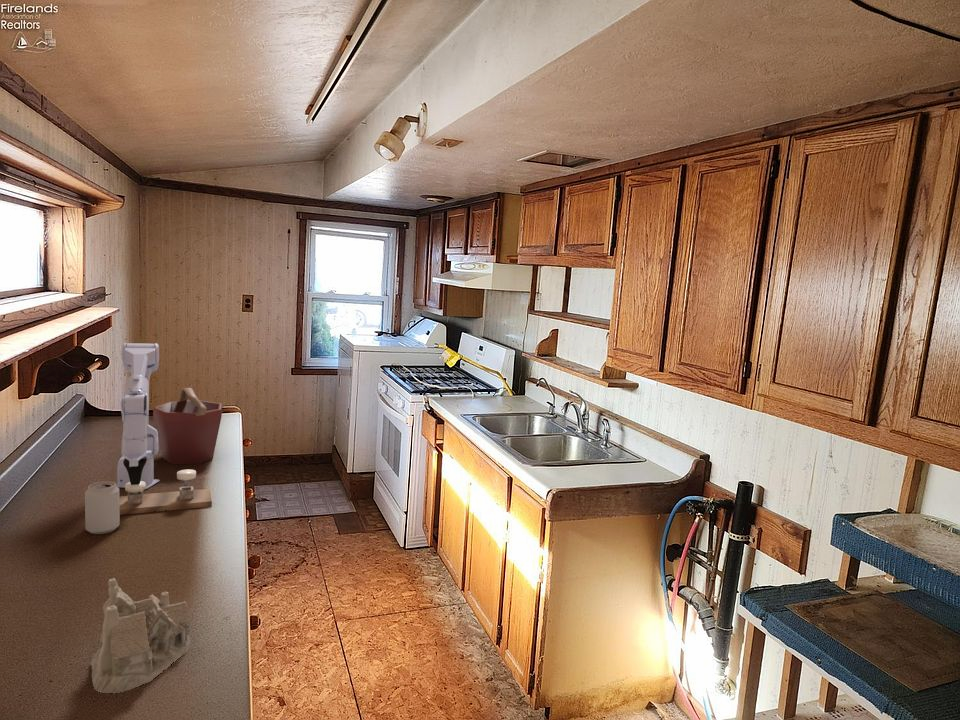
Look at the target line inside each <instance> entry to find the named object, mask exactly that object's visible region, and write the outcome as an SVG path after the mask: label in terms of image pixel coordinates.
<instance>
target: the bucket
mask: <svg viewBox="0 0 960 720" xmlns="http://www.w3.org/2000/svg"><path fill="white" fill-rule="evenodd" d="M222 415H223V403H221V402H214V401H208V400H202V399H201V400H200V399H199V398H198V396H197V395H196V394H195V392H194V390H193V388H192V387H182V388H181V390H180V394H179V400H178V401H167V402H165V403H162V404H158V405H156V406H155V405H154V406H153V407H152V418H153V421H154V426H155V429H156V430H157V432H158V440H159V449H160V453H161V456H162V459H163V460H165V461H166V462H168V463H170V464H173V465H174V464H177V465H178V464H179V465H180V464H181V465H182V464H183V465H185V464H186V465H187V464H188V465H195V464H198V463H199V464H200V463H203V462H207V461H211V460H213V458H214V455H215V450H216V445H217V441H218V436H219V430H220V425H221V420H222Z"/></svg>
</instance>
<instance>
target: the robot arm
mask: <svg viewBox="0 0 960 720" xmlns="http://www.w3.org/2000/svg"><path fill="white" fill-rule="evenodd" d="M159 360H160V346H159V344H158V343H157V342H155V343H140V342H139V343H137V342H136V343H134V342H133V343H131V342H124V343H123V344H122V346H121V361H122V365H123V368H124V371H126V372H129V373H130V376H128V377H127V379H126V380H125V384H124V385H125V387H124V395H123V396H121V399H120V412H121V417H122V418H121V421H122V423H123V425H122V431H123V432H122V438H121V445H120V446H121V447H120V448H121V449H120V451H121V457H120V458H119V460H118V463H117V467H116V471H117V473H116V474H117V476H116V477H117V478H116V480H117V482H116V486H117V487H118V488H119V489H120V488H122V489H125V484H126V483H128V482H130V483H131V485H138V484H140V481H144V482H145V483H146V489H145V490H147V489H149V488H151V487H153V486H154V485H156V484H157V483H159V482H160V479H157V478H156V479H155V478H154V477H155V476H154V472H155V471H154V469H155V465H154V461H155V460H154V459H155V458H154V456H157V454H159V448H160V444H159V440H158V432H157V430H156V427H155V428H154V427H153V426H152V425H150V424H149V419H150V417H149V415H150V414H149V413H150V412H149V411H150V410H149V409H150V408H149V406H150V379H151V375H152V373H154V372H155V371H158V370H159V369H158V368H159V366H160V365H159V364H160V363H159Z"/></svg>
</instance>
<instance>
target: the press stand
mask: <svg viewBox="0 0 960 720" xmlns="http://www.w3.org/2000/svg"><path fill="white" fill-rule="evenodd" d="M212 503H213V502H212V493H211V489H210V488H203V489H202V488H201V489H200V488H199V489H194V486H193V485H192V486H190V485H189V486H187V487H185V486H180V487H179V491H178V490H177V491H167V492H166V491H165V492H164V491H163V492H155V493H144V490H143V491H140V492H138V494H133V492H127V495H119V507H120V516H123V515H133V514H143V513H144V514H145V513H154V511H156V512H165V510H167V511H174V510H175V511H177V510H185V509H197V508H205V507H206V508H209V507H212V506H213V505H212Z"/></svg>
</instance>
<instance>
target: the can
mask: <svg viewBox="0 0 960 720" xmlns="http://www.w3.org/2000/svg"><path fill="white" fill-rule="evenodd" d="M116 485H117V482H114V481H107V480H105V481H98V482H93V483H91V484H89V485H87V489H86V490H85V491H84V512H85V513H84V518H85V519H84V521H85V525H84V526H85V530H86V531H87V532H89V533H90V534H92V535H104V534H108V533H112V532H113V531H115V530H116V529H117V528H118V527H119V526H120V523H121V522H120V521H121V519H120V516H121V515H120V507H119V496H120V487H117V486H116Z"/></svg>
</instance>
